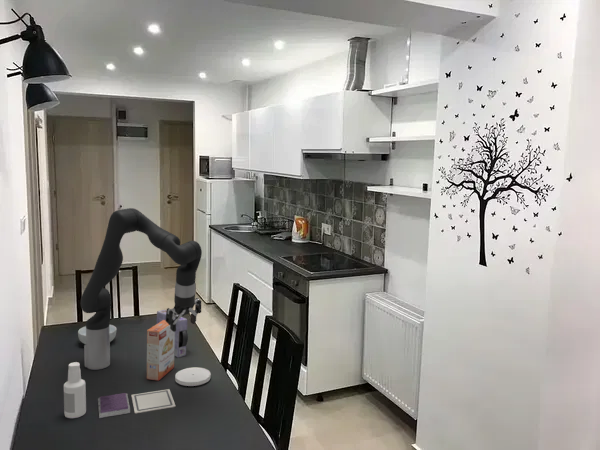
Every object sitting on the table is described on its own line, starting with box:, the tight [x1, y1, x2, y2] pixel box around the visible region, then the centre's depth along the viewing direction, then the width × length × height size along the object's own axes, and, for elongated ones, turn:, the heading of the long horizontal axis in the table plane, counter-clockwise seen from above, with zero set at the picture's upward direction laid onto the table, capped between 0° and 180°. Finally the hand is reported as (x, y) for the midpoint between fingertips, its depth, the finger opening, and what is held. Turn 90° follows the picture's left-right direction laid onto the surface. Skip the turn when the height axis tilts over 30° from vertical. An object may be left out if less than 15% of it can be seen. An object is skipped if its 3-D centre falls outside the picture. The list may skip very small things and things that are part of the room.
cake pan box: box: [156, 309, 189, 359], centre depth 224 cm, size 19×5×18 cm, turn 50°
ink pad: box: [97, 392, 131, 419], centre depth 173 cm, size 10×12×2 cm
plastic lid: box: [174, 366, 212, 387], centre depth 197 cm, size 14×14×2 cm
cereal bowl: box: [77, 324, 118, 345], centre depth 231 cm, size 17×17×7 cm
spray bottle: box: [63, 361, 87, 419], centre depth 167 cm, size 7×7×18 cm
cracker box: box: [146, 320, 175, 382], centre depth 200 cm, size 14×6×21 cm, turn 168°
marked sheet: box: [131, 388, 176, 414], centre depth 178 cm, size 14×14×1 cm
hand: (183, 326), depth 186 cm, fingers open, 8 cm apart
